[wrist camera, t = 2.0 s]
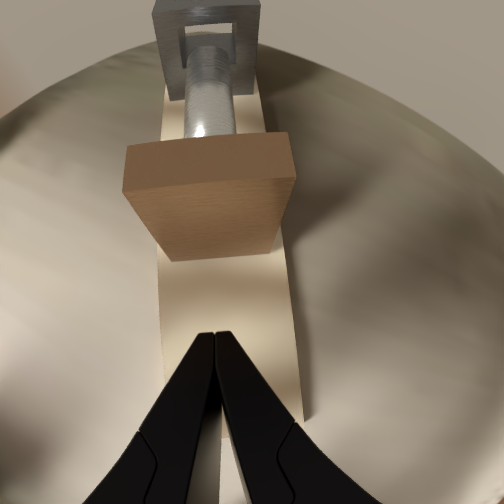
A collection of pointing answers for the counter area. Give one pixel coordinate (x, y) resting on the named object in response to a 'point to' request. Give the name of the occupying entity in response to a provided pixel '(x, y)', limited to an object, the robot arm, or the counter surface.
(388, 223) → the counter surface
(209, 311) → the birch base plate
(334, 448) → the counter surface
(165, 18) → the bearing block
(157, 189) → the wooden block with shaft
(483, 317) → the counter surface
